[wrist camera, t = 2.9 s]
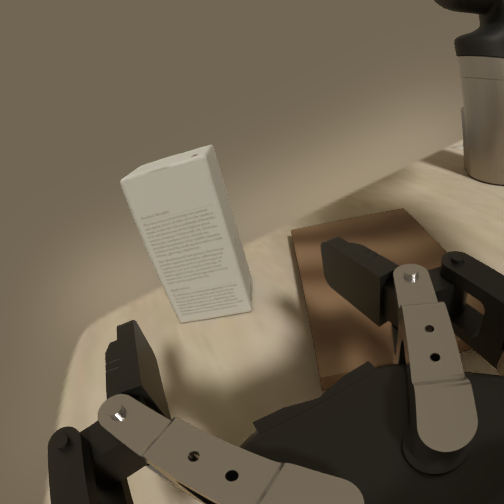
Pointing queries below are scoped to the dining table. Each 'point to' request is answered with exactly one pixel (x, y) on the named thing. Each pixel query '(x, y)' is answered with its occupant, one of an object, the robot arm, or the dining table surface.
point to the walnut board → (339, 309)
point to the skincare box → (191, 234)
